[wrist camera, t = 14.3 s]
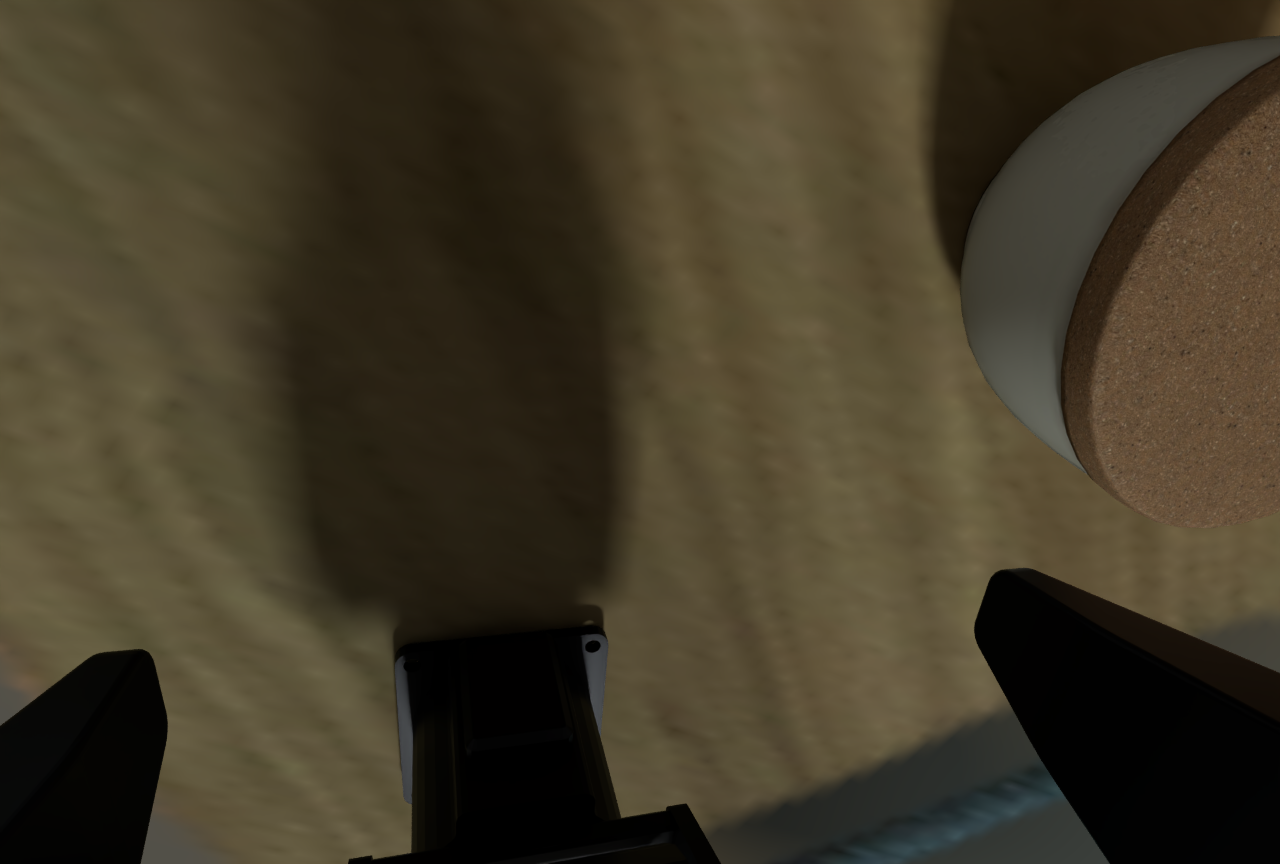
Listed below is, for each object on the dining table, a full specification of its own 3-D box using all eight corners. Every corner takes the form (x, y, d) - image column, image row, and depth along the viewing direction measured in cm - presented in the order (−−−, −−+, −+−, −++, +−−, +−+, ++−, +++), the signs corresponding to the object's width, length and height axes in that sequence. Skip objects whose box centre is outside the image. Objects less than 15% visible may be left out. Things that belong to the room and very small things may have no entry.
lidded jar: (818, 264, 21) (1064, 401, 13) (1114, -69, 19) (1618, -151, 11) (1011, 458, 26) (1276, 644, 18) (1262, 209, 24) (1685, 292, 16)
